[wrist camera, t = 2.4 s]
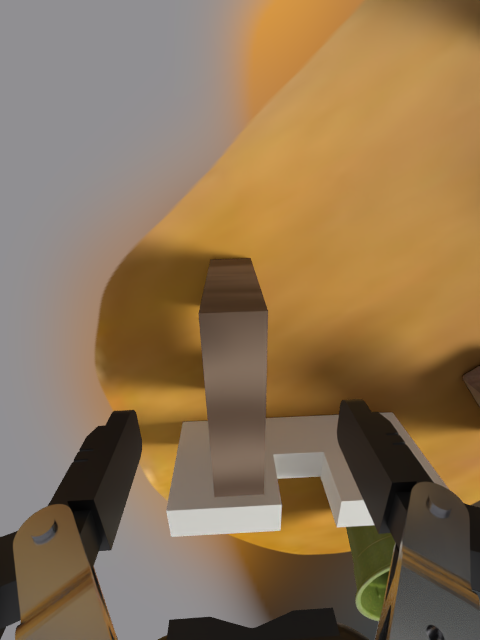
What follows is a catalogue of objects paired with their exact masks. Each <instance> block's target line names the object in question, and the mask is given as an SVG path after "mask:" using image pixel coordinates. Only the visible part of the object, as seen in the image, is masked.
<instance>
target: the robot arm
mask: <svg viewBox="0 0 480 640" xmlns="http://www.w3.org/2000/svg"><path fill="white" fill-rule="evenodd" d="M337 439H338V443H339V446H340V449H341V451H342V453H343V455H344V458H345V460H346V462H347V464H348V467H349V469H350V471H351V473H352V476H353V478H354V480H355V482H356V485H357V487H358V489H359V491H360V494H361V496H362V498H363V500H364V503H365V505H366V507H367V509H368V511H369V514H370V516H371V518H372V520H373V523H374V525H375V527H376V529H377V532H378V534H384V533H391V535H392V537H393V539H394V541H395V546H394V549H393V555H392V560H391V565H390V570H389V576H388V581H387V586H386V591H385V596H384V602H383V607H382V611H381V616H380V620H379V624H378V628H377V632H376V637H375V640H480V604H479V598H478V596H477V594H476V593H475V592H474V591H472V590H475V591H478V592H480V508H479V507H475V506H471V505H467V504H464V503H463V502H462V501H461V500H460V498H459V497H458V496H456V495H455V494H454V493H453V492H451V491H450V490H449V489H447V488H445V487H443V486H441V485H439V484H436V483H434V482H433V481H432V479H431V478H430V476H429V475H428V474H427V472H426V471H425V469H424V468H423V467H422V465H421V464H420V462H419V461H418V460H417V458H416V457H415V455H414V454H413V453H412V451H411V450H410V448H409V447H408V446H407V445H406V444H405V441H404V440H403V439H402V437H401V436H400V435H399V434H398V432H397V430H396V429H395V427H394V426H393V425H392V423H391V422H390V421H389V420H388V419H386V418H385V417H384V416H383V415H381V414H380V413H379V412H371V410H370V409H369V407H368V406H367V404H366V403H365V401H364V400H362V399H353V400H342V401H341V404H340V411H339V418H338V425H337ZM141 452H142V439H141V434H140V429H139V425H138V420H137V415H136V412H135V411H134V410H125V411H114V412H112V414H111V416H110V418H109V420H108V422H107V424H106V426H98V427H97V428H96V429H95V430H94V431H92V432H91V433H90V434H89V435H88V436H87V437H86V439H85V441H84V442H83V444H82V446H81V448H80V451H79V452H78V453H77V455H76V457H75V459H74V462H73V463H72V464H71V466H70V467H69V469H68V471H67V473H66V475H65V476H64V478H63V480H62V482H61V483H60V485H59V487H58V489H57V491H56V492H55V494H54V496H53V498H52V500H51V501H50V503H49V505H48V506H47V507H45V508H43V509H41V510H39V511H38V512H36V513H34V514H33V515H32V516H31V517H29V518H28V519H27V520H26V521H25V522H24V523H23V524H22V526H21V527H20V528H19V530H18V531H16V532H14V533H11V534H8V535H5V536H3V537H0V639H1V637H2V635H3V633H4V630H5V628H6V626H8V625H11V624H13V623H15V622H17V621H20V620H21V624H20V625H18V626H17V628H16V632H15V640H118V639H117V636H116V633H115V630H114V627H113V624H112V621H111V618H110V615H109V612H108V609H107V606H106V603H105V599H104V596H103V594H102V590H101V588H100V584H99V581H98V578H97V575H96V572H95V569H94V563H95V560H96V557H97V554H98V552H99V551H106V550H111V549H112V545H113V542H114V539H115V536H116V533H117V530H118V527H119V523H120V520H121V517H122V514H123V511H124V507H125V505H126V501H127V498H128V495H129V491H130V489H131V486H132V482H133V479H134V476H135V473H136V470H137V467H138V464H139V460H140V457H141ZM471 589H472V590H471ZM158 640H369V639H368V638H367V637H365V636H364V635H363V634H361V633H359V632H358V631H356V630H354V629H352V628H350V627H348V626H346V625H343V624H340V623H337V622H336V618H335V615H334V610H333V608H323V609H310V610H296V611H291V612H289V613H287V614H285V615H283V616H280V617H278V618H276V619H274V620H272V621H269V622H267V623H265V624H263V625H261V626H258V627H256V628H248V627H244V626H241V625H237V624H233V623H230V622H226V621H223V620H219V619H216V618H212V617H202V618H188V619H174V620H169V627H168V634H167V636H164V637H162V638H160V639H158Z"/></svg>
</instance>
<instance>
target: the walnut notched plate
mask: <svg viewBox="0 0 480 640" xmlns="http://www.w3.org/2000/svg"><path fill="white" fill-rule="evenodd" d="M199 323H200V335H201V347H202V358H203V370H204V382H205V393H206V405H207V416H208V428H209V440H210V451H211V463H212V475H213V486H214V497H227V496H245V495H264V482H265V431H266V381H267V331H268V310H267V307H266V304H265V301H264V298H263V295H262V292H261V289H260V286H259V283H258V280H257V276H256V273H255V270H254V267H253V264H252V261H251V258H246V259H212V260H210V264H209V269H208V273H207V278H206V282H205V287H204V291H203V296H202V300H201V305H200V310H199Z"/></svg>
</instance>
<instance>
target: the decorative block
mask: <svg viewBox="0 0 480 640" xmlns="http://www.w3.org/2000/svg"><path fill="white" fill-rule="evenodd" d="M463 380H464V382H465V384H466V385H467V387H468V389H469V390H470V392H471V393H472V395H473V397H474V398H475V400H476V402H477V403H478V405H479V406H480V366H478V367H477V368H475V369H473V370H471V371H470V372H468V373H466V374H465V375H463Z"/></svg>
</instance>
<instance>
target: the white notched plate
mask: <svg viewBox="0 0 480 640" xmlns="http://www.w3.org/2000/svg"><path fill="white" fill-rule="evenodd" d="M380 414H381V415H383V416H384V417H385V418H386V419H388V420H389V421H390V422H391V423H392V425H393V426H394V427H395V429H396V430H397V432H398V434H399V435H400V436H401V437H402V439H403V440H404V441H405V444H406V445H407V446H408V447H409V448H410V450H411V451H412V453H413V454H414V455H415V457H416V458H417V460H418V461H419V462H420V464H421V465H422V467H423V468H424V469H425V471H426V472H427V474H428V475H429V476H430V478H431V479H432V481H433V482H434V483H436V484H439V485H441V486H443V487H445V488H447V489H448V487H447V486H446V485H445V483H444V482H443V480H442V479H441V478H440V476H439V475H438V474H437V472H436V471H435V470H434V468H433V467H432V465H431V464H430V463H429V461H428V460H427V459H426V457H425V456H424V455H423V453H422V452H421V450H420V449H419V448H418V446H417V445H416V444H415V442H414V441H413V440H412V438H411V437H410V436H409V434H408V433H407V431H406V430H405V429H404V427H403V426H402V425H401V423H400V422H399V421H398V419H397V418H396V416H395V415H394V414H393V412H387V413H380ZM338 418H339V415H322V416H300V417H278V418H266V431H265V482H264V495H245V496H227V497H214V486H213V475H212V463H211V451H210V440H209V428H208V421H191V422H183V424H182V429H181V435H180V440H179V445H178V451H177V456H176V461H175V467H174V472H173V478H172V483H171V488H170V494H169V499H168V505H167V511H166V512H167V517H168V522H169V527H170V533H171V537H176V536H194V535H212V534H229V533H247V532H264V531H280V528H281V511H282V502H281V497H280V491H279V485H278V479H281V478H301V477H321V480H322V483H323V486H324V489H325V492H326V495H327V499H328V502H329V505H330V508H331V511H332V514H333V517H334V520H335V523H336V526H337V527H352V526H370V525H374V523H373V520H372V518H371V516H370V514H369V511H368V509H367V507H366V505H365V503H364V500H363V498H362V496H361V494H360V491H359V489H358V487H357V485H356V482H355V480H354V478H353V476H352V473H351V471H350V469H349V467H348V464H347V462H346V460H345V458H344V455H343V453H342V451H341V449H340V446H339V443H338V439H337V425H338Z"/></svg>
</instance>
